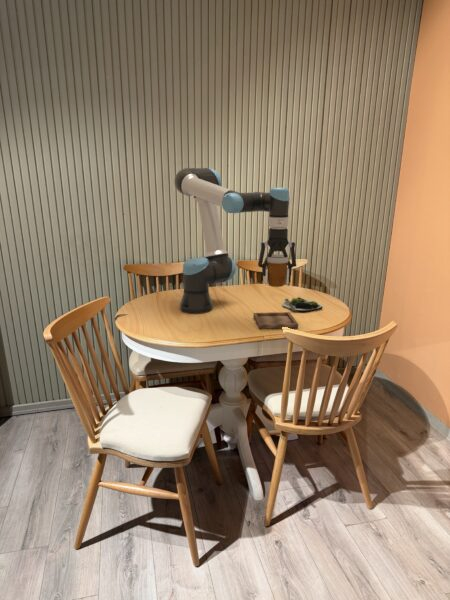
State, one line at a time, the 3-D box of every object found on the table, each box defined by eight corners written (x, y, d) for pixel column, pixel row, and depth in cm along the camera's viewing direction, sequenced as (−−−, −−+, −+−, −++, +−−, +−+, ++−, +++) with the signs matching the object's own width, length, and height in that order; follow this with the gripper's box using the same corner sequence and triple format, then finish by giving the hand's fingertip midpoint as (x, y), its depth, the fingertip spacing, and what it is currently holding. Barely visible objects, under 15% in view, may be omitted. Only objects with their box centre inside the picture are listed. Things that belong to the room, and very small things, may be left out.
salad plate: (271, 304, 203) (272, 295, 202) (300, 299, 211) (301, 290, 210) (297, 315, 187) (297, 305, 185) (327, 309, 195) (327, 300, 194)
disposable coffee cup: (289, 288, 167) (290, 258, 164) (265, 287, 167) (266, 258, 164) (286, 282, 176) (287, 254, 173) (263, 282, 176) (264, 254, 173)
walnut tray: (259, 329, 168) (259, 325, 167) (253, 317, 183) (253, 312, 183) (298, 328, 169) (298, 324, 168) (289, 316, 184) (289, 312, 184)
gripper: (253, 229, 161) (252, 286, 167) (306, 228, 162) (303, 285, 169) (251, 227, 168) (250, 281, 174) (301, 226, 169) (299, 280, 176)
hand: (276, 283), depth 171 cm, fingers closed on disposable coffee cup, 8 cm apart
